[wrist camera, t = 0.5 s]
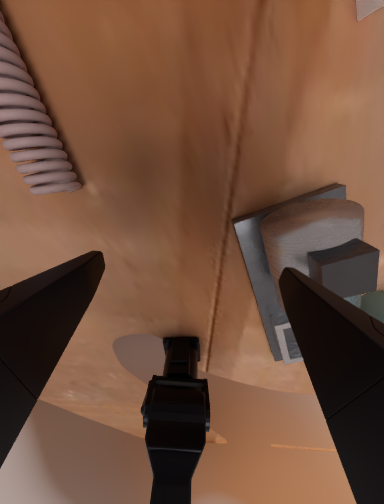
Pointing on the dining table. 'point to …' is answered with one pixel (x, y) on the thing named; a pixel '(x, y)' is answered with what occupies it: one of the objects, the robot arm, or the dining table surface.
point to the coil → (29, 125)
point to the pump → (374, 304)
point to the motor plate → (306, 255)
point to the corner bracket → (367, 7)
